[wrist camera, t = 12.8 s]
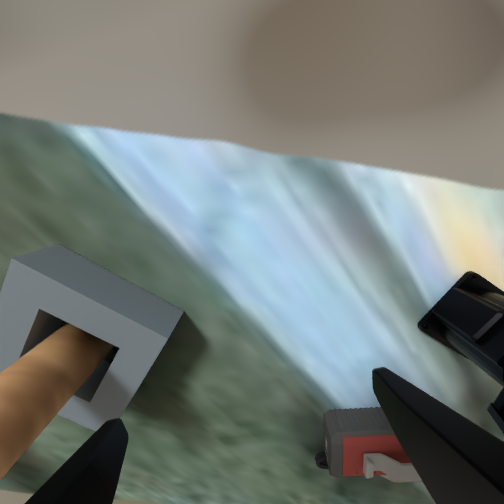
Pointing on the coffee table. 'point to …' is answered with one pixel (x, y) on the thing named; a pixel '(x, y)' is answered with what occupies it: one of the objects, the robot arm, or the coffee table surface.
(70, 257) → the socket block
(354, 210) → the coffee table surface
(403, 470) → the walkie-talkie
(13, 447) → the peg
